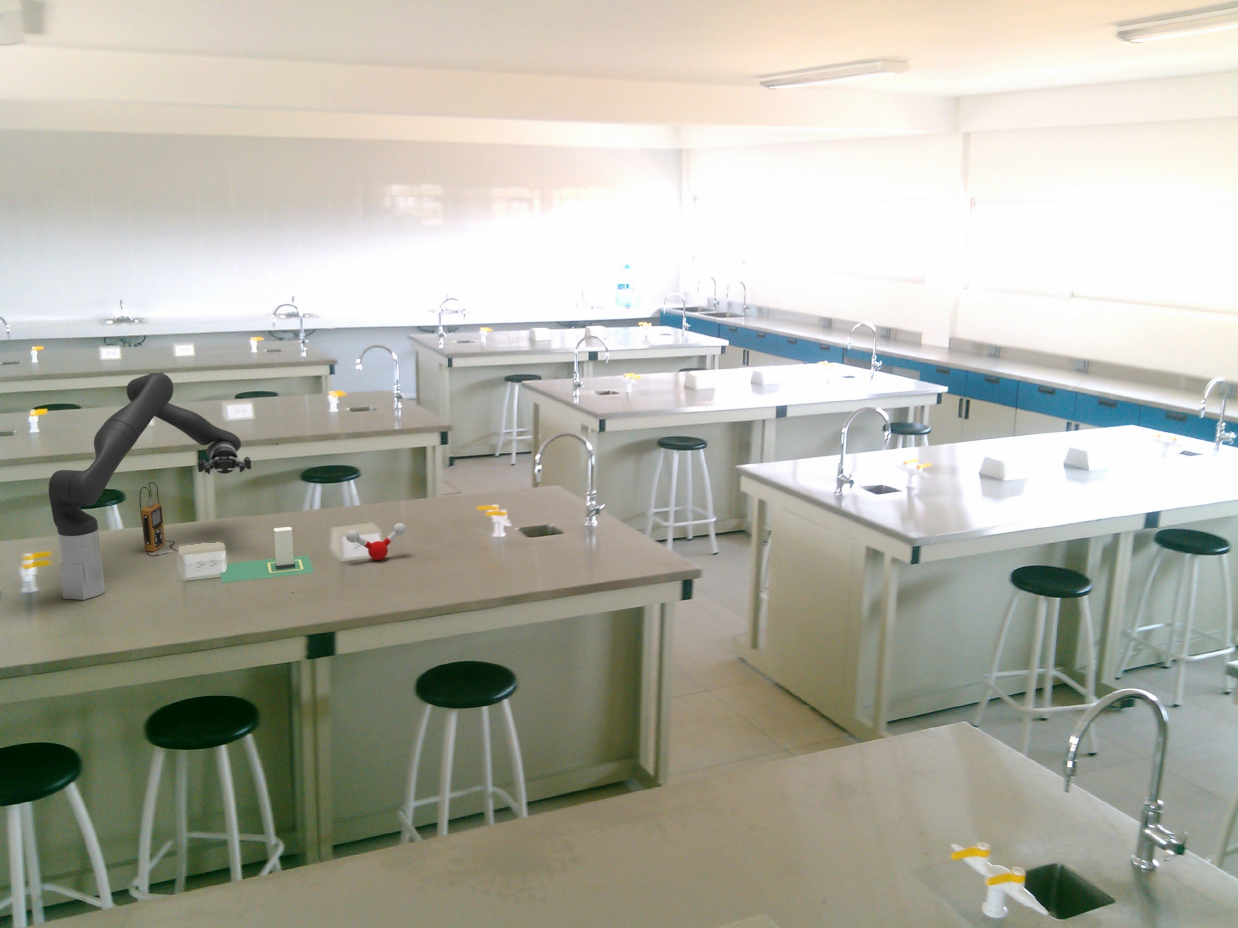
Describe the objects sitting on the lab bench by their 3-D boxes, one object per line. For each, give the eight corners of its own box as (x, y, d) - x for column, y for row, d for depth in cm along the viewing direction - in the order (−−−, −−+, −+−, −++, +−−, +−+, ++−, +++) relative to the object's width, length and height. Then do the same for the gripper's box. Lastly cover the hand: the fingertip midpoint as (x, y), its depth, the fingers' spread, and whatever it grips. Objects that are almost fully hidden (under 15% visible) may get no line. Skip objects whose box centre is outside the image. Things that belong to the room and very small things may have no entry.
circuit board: (221, 588, 268) (221, 582, 267) (220, 569, 282) (219, 563, 282) (314, 577, 277) (314, 572, 276) (308, 559, 291) (308, 554, 291)
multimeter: (172, 557, 292) (166, 491, 287) (138, 556, 292) (132, 490, 287) (194, 541, 306) (189, 478, 301) (162, 540, 306) (156, 477, 301)
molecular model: (404, 552, 299) (403, 520, 297) (410, 557, 295) (409, 525, 292) (345, 561, 291) (344, 528, 288) (350, 566, 286) (349, 533, 284)
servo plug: (293, 563, 280) (291, 529, 278) (276, 565, 279) (274, 531, 276) (293, 560, 283) (290, 526, 281) (275, 562, 281) (273, 528, 279)
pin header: (295, 567, 280) (294, 555, 280) (276, 569, 279) (275, 557, 278) (294, 563, 283) (293, 551, 283) (275, 565, 282) (274, 553, 281)
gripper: (197, 447, 293) (196, 458, 279) (249, 444, 298) (251, 455, 284) (199, 472, 295) (198, 484, 280) (250, 469, 300) (252, 480, 285)
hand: (225, 469), depth 282 cm, fingers open, 8 cm apart
